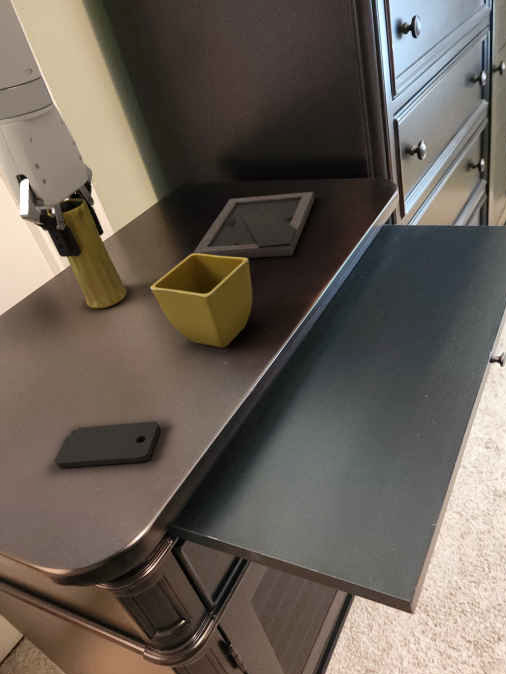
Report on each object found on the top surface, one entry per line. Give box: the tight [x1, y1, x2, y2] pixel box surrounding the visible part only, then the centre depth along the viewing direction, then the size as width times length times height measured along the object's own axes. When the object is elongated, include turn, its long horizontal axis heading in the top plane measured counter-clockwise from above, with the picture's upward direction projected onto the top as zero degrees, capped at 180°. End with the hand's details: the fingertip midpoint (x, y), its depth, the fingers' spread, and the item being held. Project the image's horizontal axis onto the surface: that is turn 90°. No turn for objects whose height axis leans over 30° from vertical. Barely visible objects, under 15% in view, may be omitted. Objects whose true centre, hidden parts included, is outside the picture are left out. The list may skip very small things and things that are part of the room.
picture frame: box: [193, 191, 315, 259], centre depth 89 cm, size 16×2×21 cm
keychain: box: [54, 420, 161, 469], centre depth 54 cm, size 5×1×10 cm
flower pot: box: [150, 252, 253, 349], centre depth 64 cm, size 9×9×9 cm
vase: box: [47, 198, 128, 310], centre depth 75 cm, size 6×6×14 cm
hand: (82, 243), depth 73 cm, fingers closed on vase, 5 cm apart
